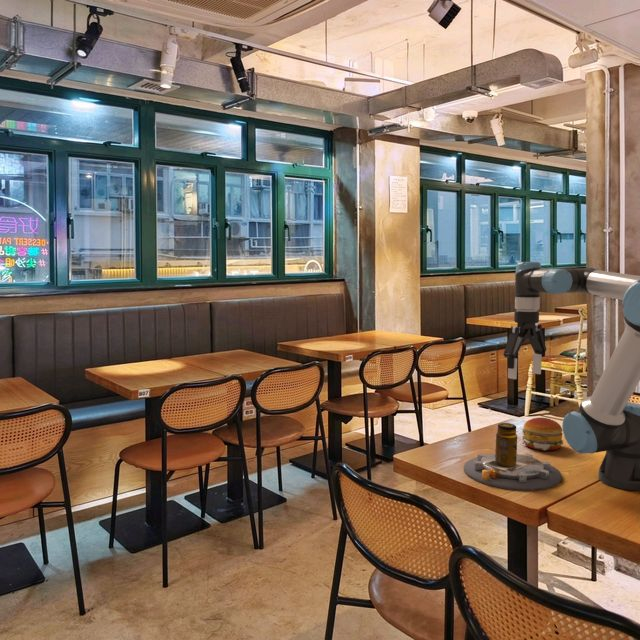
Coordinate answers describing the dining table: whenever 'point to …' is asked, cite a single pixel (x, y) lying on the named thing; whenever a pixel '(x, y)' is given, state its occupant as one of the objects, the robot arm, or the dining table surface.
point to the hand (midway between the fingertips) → (524, 376)
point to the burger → (542, 434)
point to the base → (512, 484)
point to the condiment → (505, 447)
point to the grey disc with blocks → (526, 471)
